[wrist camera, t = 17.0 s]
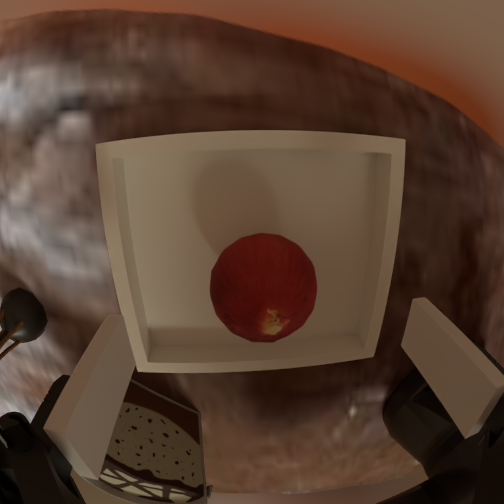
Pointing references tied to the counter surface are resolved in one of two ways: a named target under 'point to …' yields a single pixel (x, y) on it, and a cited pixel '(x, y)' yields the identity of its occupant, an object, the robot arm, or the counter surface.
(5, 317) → the wooden tabletop sculpture
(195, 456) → the food container
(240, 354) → the tray
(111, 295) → the counter surface
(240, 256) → the onion
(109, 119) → the counter surface
